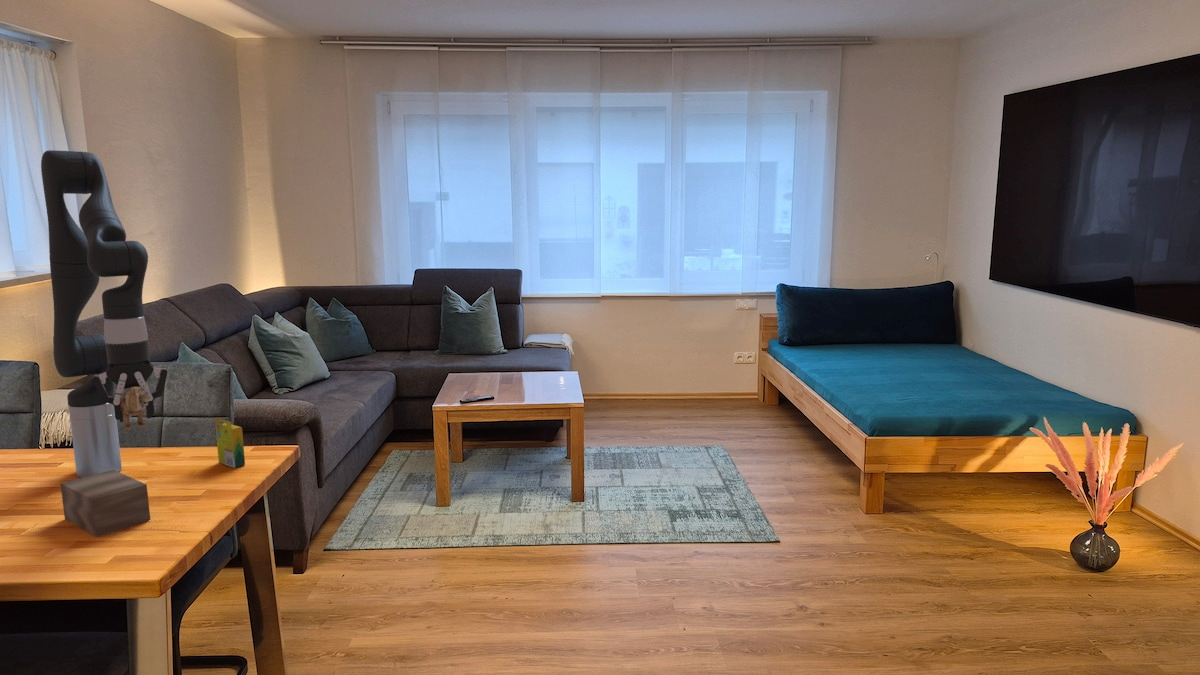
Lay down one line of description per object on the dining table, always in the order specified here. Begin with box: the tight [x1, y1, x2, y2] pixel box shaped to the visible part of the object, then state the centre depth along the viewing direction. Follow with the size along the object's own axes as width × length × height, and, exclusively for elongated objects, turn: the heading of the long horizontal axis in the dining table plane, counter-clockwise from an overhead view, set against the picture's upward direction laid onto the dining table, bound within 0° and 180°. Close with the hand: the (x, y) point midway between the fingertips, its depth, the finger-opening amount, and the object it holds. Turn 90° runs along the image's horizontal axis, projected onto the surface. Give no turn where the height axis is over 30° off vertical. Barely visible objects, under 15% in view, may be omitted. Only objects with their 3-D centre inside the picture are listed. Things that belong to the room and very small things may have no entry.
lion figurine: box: [120, 387, 151, 430], centre depth 167 cm, size 15×5×9 cm, turn 36°
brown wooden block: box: [59, 470, 151, 538], centre depth 162 cm, size 15×10×8 cm, turn 54°
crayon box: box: [214, 417, 246, 469], centre depth 195 cm, size 7×3×12 cm, turn 54°
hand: (135, 419), depth 166 cm, fingers closed on lion figurine, 4 cm apart
